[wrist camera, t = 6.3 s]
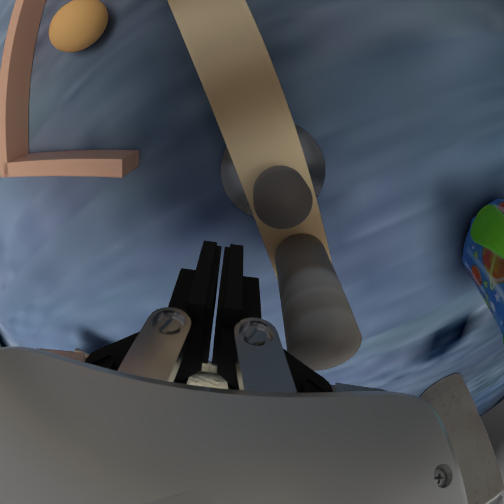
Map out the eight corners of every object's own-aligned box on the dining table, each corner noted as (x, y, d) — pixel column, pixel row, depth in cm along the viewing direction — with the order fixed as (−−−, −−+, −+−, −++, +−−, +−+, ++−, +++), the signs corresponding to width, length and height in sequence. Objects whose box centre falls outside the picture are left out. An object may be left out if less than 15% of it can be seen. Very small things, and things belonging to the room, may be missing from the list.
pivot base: (227, 113, 14) (227, 113, 13) (333, 131, 14) (334, 131, 14) (216, 212, 17) (215, 213, 16) (311, 224, 17) (312, 226, 17)
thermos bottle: (428, 405, 34) (465, 535, 10) (410, 399, 31) (450, 552, 7) (465, 377, 31) (512, 510, 7) (453, 368, 28) (507, 526, 4)
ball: (46, -2, 6) (108, -20, 7) (59, 22, 9) (111, 9, 10) (38, 47, 7) (103, 28, 8) (55, 66, 10) (109, 52, 11)
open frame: (49, -34, 6) (31, -41, 4) (180, -69, 6) (171, -87, 4) (21, 166, 14) (0, 177, 12) (138, 166, 15) (122, 177, 13)
